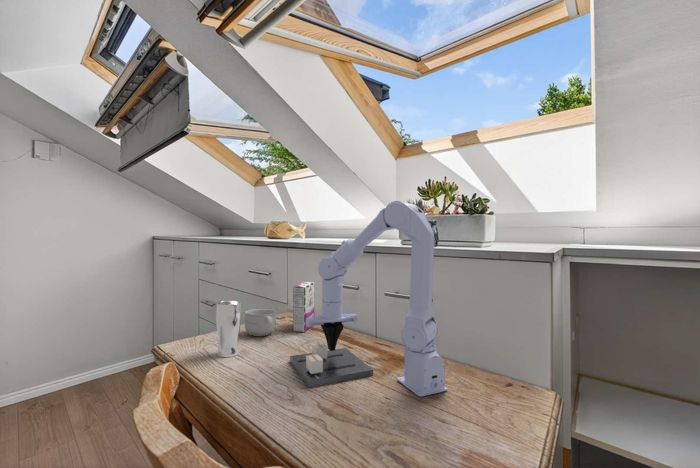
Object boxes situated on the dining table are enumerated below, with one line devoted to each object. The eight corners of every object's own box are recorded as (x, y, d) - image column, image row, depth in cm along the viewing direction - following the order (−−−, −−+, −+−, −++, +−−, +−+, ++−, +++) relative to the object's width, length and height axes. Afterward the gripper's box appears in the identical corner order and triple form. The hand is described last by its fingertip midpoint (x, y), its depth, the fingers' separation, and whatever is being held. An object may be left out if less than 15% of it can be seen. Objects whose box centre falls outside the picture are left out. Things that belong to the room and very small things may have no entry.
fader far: (327, 357, 91) (327, 346, 91) (316, 359, 90) (316, 348, 90) (322, 353, 95) (322, 342, 95) (312, 354, 93) (312, 343, 93)
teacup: (242, 331, 120) (242, 309, 120) (273, 328, 125) (273, 306, 125) (248, 343, 107) (248, 318, 107) (281, 339, 112) (282, 315, 112)
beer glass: (244, 350, 101) (245, 300, 101) (234, 358, 95) (235, 305, 94) (222, 349, 102) (223, 299, 102) (210, 357, 95) (211, 304, 95)
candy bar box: (302, 323, 131) (303, 281, 131) (314, 324, 130) (315, 282, 130) (291, 331, 120) (292, 286, 120) (305, 332, 119) (305, 286, 119)
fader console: (373, 375, 85) (373, 369, 85) (308, 387, 78) (308, 381, 78) (345, 352, 100) (345, 347, 100) (289, 361, 93) (289, 355, 93)
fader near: (322, 372, 82) (322, 359, 82) (311, 374, 81) (311, 361, 81) (317, 365, 86) (317, 353, 85) (306, 367, 84) (306, 355, 84)
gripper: (349, 296, 100) (349, 341, 100) (302, 299, 94) (302, 348, 94) (360, 300, 94) (359, 349, 94) (310, 305, 88) (310, 357, 88)
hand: (331, 349), depth 94 cm, fingers closed
